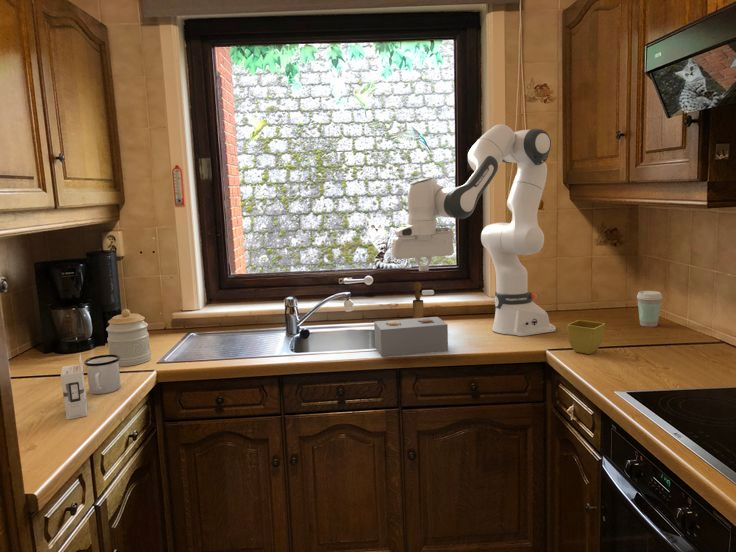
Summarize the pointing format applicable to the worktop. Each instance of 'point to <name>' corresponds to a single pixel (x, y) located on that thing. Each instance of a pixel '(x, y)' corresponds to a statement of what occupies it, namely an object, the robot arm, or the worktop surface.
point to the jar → (129, 338)
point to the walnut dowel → (425, 321)
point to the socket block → (411, 337)
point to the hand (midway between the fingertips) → (423, 270)
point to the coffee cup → (649, 307)
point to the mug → (103, 374)
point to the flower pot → (585, 335)
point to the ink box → (74, 391)
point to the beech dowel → (394, 324)
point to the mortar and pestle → (417, 302)
